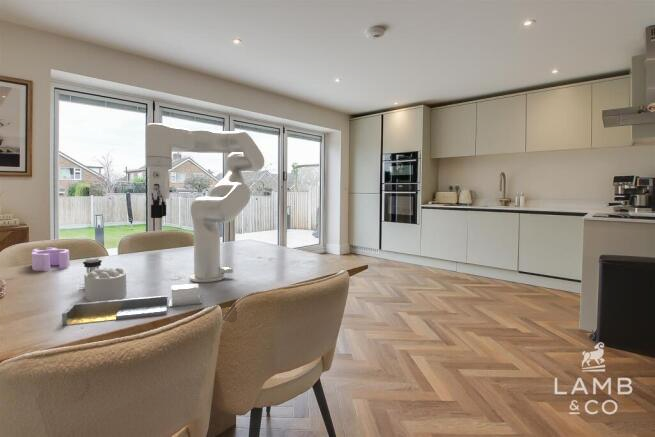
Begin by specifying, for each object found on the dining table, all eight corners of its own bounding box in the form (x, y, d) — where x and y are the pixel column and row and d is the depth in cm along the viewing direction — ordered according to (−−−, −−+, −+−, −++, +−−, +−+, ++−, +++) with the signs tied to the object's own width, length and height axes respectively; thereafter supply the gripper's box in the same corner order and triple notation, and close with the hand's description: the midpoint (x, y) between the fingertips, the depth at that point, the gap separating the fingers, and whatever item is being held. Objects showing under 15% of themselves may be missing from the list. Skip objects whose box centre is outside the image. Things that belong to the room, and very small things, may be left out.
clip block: (198, 297, 109) (198, 283, 109) (198, 301, 105) (198, 287, 105) (172, 300, 106) (172, 285, 106) (171, 304, 102) (171, 289, 102)
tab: (200, 297, 111) (200, 296, 111) (201, 303, 104) (201, 302, 104) (169, 300, 107) (169, 299, 107) (169, 307, 101) (169, 306, 101)
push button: (80, 291, 115) (79, 261, 114) (77, 287, 119) (76, 258, 118) (104, 287, 120) (103, 258, 119) (100, 284, 123) (99, 256, 123)
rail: (167, 305, 103) (167, 295, 102) (166, 314, 95) (166, 303, 95) (71, 314, 94) (71, 304, 93) (62, 325, 86) (61, 313, 86)
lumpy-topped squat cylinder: (117, 289, 118) (117, 264, 117) (132, 297, 110) (132, 270, 109) (81, 295, 110) (80, 269, 110) (95, 305, 102) (94, 276, 101)
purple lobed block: (24, 265, 151) (24, 249, 150) (59, 261, 161) (59, 246, 160) (37, 272, 139) (37, 255, 138) (74, 267, 148) (74, 251, 148)
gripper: (168, 161, 103) (168, 218, 104) (174, 166, 120) (174, 215, 121) (140, 160, 101) (140, 218, 102) (150, 165, 117) (150, 215, 118)
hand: (158, 217), depth 111 cm, fingers open, 9 cm apart
